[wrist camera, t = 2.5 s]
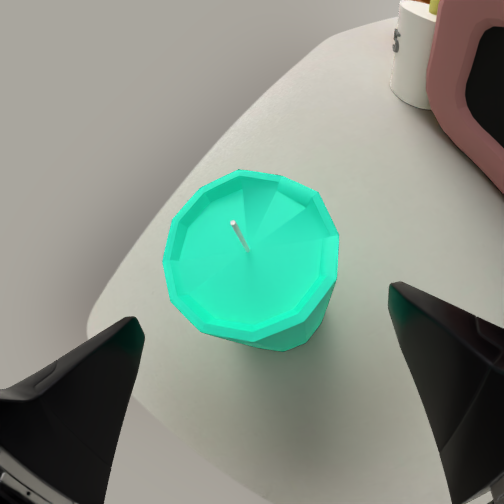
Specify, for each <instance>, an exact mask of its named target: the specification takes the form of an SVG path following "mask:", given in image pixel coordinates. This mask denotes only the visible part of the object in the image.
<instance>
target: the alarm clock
mask: <svg viewBox="0 0 504 504" xmlns="http://www.w3.org/2000/svg"><path fill="white" fill-rule="evenodd" d="M426 92H427V96H428V99H429V103H430V107H431V110H432V112H433V114H434V115H435V117H436V119H437V121H438V123H439V124H440V126H441V128H442V130H443V131H444V132H445V133H446V134H447V135H448V136H449V138H450V139H451V140H452V141H453V142H454V143H455V145H456V146H457V147H458V148H460V149H461V150H462V151H463V152H464V153H465V154H466V155H467V156H468V157H469V158H470V159H471V160H472V161H473V162H474V163H475V164H476V165H477V166H478V167H479V168H480V169H481V170H482V171H483V172H484V173H485V174H486V175H487V177H488V178H489V179H490V180H491V181H492V182H493V183H494V184H495V185H496V186H497V188H498V189H499V190H500V191H501V192H502V193H503V195H504V0H440V1H439V4H438V10H437V17H436V24H435V30H434V35H433V41H432V46H431V51H430V56H429V61H428V65H427V70H426Z"/></svg>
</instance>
